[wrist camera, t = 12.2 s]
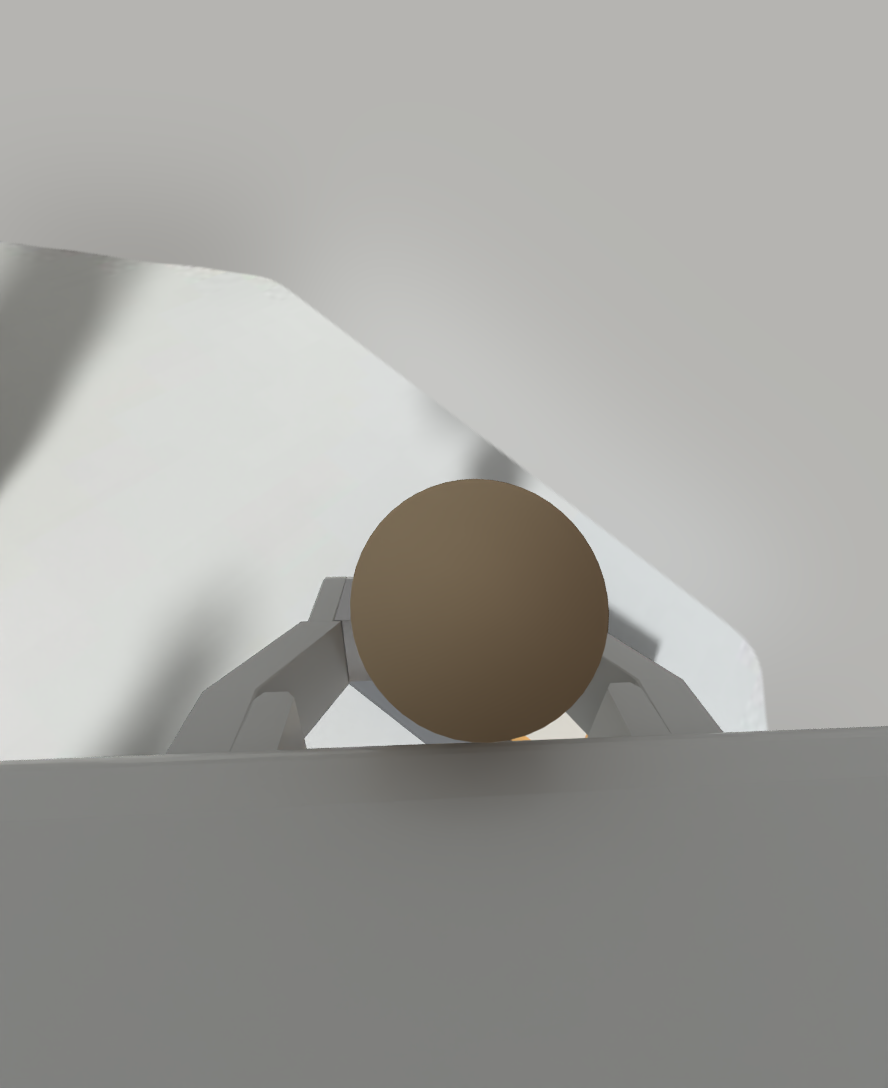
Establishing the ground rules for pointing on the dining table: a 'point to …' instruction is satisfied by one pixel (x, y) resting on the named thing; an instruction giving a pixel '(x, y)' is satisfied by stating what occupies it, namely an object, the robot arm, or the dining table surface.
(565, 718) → the key
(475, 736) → the wooden post
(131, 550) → the dining table surface
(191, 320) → the dining table surface
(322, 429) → the dining table surface
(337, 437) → the dining table surface
